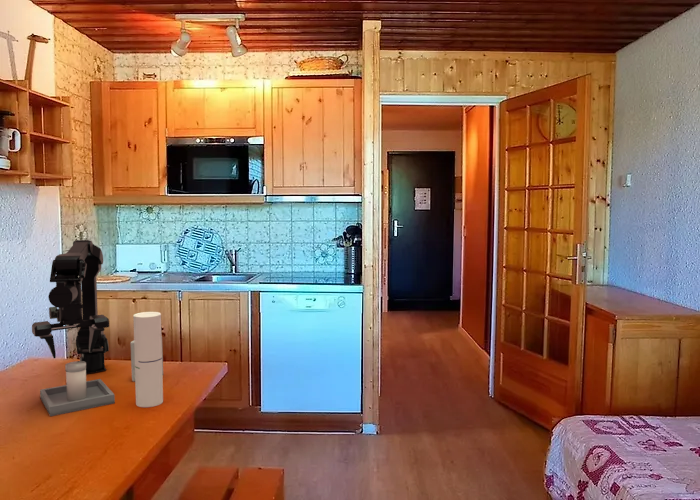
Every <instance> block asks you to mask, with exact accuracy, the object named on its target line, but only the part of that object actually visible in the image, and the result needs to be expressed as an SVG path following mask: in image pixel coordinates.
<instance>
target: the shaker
mask: <svg viewBox="0 0 700 500" xmlns="http://www.w3.org/2000/svg"><path fill="white" fill-rule="evenodd" d="M64 367H65V379H66V380H65V381H66V384H65V385H67V400H68V401H77V400H82V399H85V398H86V397H87V386H86V381H87V374H86V362H84V361H80V360H77V361H75V360H74V361H71V362H67V363H65V366H64Z"/></svg>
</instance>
